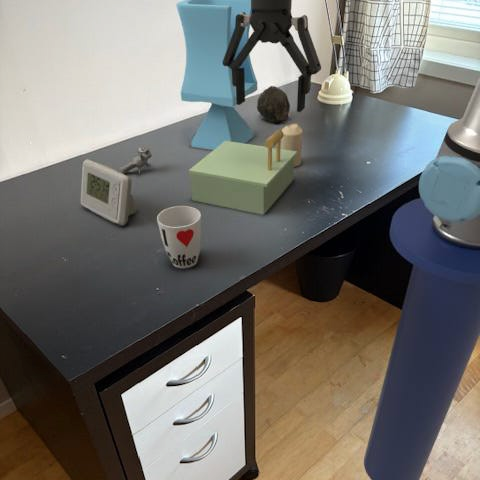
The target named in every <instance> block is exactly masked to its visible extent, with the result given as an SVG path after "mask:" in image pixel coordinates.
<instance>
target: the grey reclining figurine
mask: <svg viewBox="0 0 480 480" xmlns="http://www.w3.org/2000/svg"><path fill="white" fill-rule="evenodd" d="M137 153H138V155H136V156H134V157H133V158H132V161H131V162H129V163H126V164H125V165H123V166H120V167H119V168H120V170H121V173H122V174H124V175H126V174H127V173H128V172H130V171H131V170H134V169H135V168H137V170H138V175H140V174H141V171H142V168H143V167H145V166H149V163H148V161H149V159H151V158H152V152H151V151H150V150H149V149H148V148H146V147H142V148H141V147H139V148H138V150H137Z"/></svg>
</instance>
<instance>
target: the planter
mask: <svg viewBox="0 0 480 480" xmlns="http://www.w3.org/2000/svg"><path fill="white" fill-rule="evenodd" d="M176 9H177V13H178V16H179V19H180V23H181V27H182V31H183V36H184V43H185V68H184V75H183V80H182V85H181V88H180V89H181V90H180V97H181V98H180V99H181V101H182V102H189V103H209V104H210V103H211V105H210V107H209V108H208V111H207V113H206V115H205V116H204V118H203V120H202V122H201V123H200V125H199V127H198V129H197V131H196V132H195V135H194V136H193V138H192V139H191V141H190V147H191V148H197V149H202V150H209V151H213V150H215V149H216V148H217V147H218V146H220V145H221V144H222V143H223V142H224V141H230V142H237V143H244V144H247V143H248V142H249V141H250V140H251V139H253V137H254V131H253V130H252V128H251V127H250V126H249V125H248V124H247V122H246V121H245V120H244V118H243V117H242V116H241V114H240V113H239V112H238V111H237V110H236V109H235V106H237V101H236V87H235V86H233V84H232V70H231V68H229V67H228V66H224V65H223V59H224V57H225V54H226V51H227V48H228V46H229V43H230V40H231V37H232V35H233V32H234V29H235V20H236V15H238V14H240V13H242V12H245V13H246V15H251V12H252V10H251V0H182V1H179V2H177V3H176ZM250 29H251V25H250V23H248V26H247V27H245V31H244V33H243V36H242V39H241V41H240V44H239V46H238V49H237V52H236V54H235V57H234V60H235V59H236V57H237V56H238V54H239V53H240V51H241V50H242V49H243V47H244V46H245V44H246V43H247V41H248V39H249V37H250V36H249V35H250ZM240 68H244V76H245V98H246V97H247V96H249V95H252V94H254V93H255V92H256V91H258V80H257V77H256V75H255V71H254V68H253V64H252V60H251V56H250V54H249V55H248V56H247V58H246V59H245V61H244V62H243V63H242V66H241V67H240Z"/></svg>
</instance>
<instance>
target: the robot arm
mask: <svg viewBox="0 0 480 480" xmlns="http://www.w3.org/2000/svg"><path fill="white" fill-rule="evenodd" d="M292 1H293V0H251V10H252V12H251V15H246V13H245V12H242V13H240V14H238V15H236V20H235V29H234V32H233V35H232V37H231V40H230V43H229V46H228V48H227V51H226V54H225V57H224V59H223V65H224V66H228V67H229V68H231V70H232V84H233V86H235V87H236V101H237V105H238V106H240V105H242V104H243V103H245V102H246V97H245V76H244V68H240V67H241V66H242V63H243V62H244V61H245V59H246V58H247V56H248V55H250V54H251V52H252V51H253V49H254V48H255V47H256V45H257V44H258V42H259V41H260V43H262V44H263V43H264V44H266V43H270V44H278V43H280V45H281V46H282V47H283V48H284V49H285V50H286V52H287V53H288V55H289V57H290V59H291V60H292V62H293V63H294V64H295V66H296V67H297V70H299V72H300V75H299V76H298V77H297V78H298V79H297V101H296V112H297V113H301V112H302V111H303V110H305V109H306V95H308V94H309V93H310V91H311V85H312V83H311V82H312V75H316V74H318V73H319V72H320V71H321V70H322V64H321V62H320V59H319V56H318V54H317V50H316V48H315V44H314V42H313V39H312V36H311V32H310V31H309V18H308V16H307V15H306V14H303V15H301V16H298V17H293V15H292V4H293V3H292ZM248 23H250V28H252V30H253V31H252V33H251V35H250V36H249V39H248V41H247V43H246V44H245V46H244V47H243V49H242V50H241V51H240V53H239V54H238V56H237V57H236V59H235V60H234V57H235V54H236V52H237V49H238V46H239V44H240V41H241V39H242V36H243V33H244V31H245V27H247V26H248ZM292 27H294V30H295V31H296V32H297V35H298V38H299V41H300V44H301V47H302V49H303V53H304V54H303V53H302V51H301V49H300V48H299V46H298V45H297V43H296V42H295V39H294V36H293V35H292V33H291V32H290V30H291V28H292ZM304 55H305V56H304ZM237 105H236V106H237ZM418 193H419V198H421V199H422V200H423V202H424V203H425V206H426V208H427V209H428V210H429V211H430V212H431V213H432V214H434V218H433V222H432V229H433V231H434V232H435V234H436V235H437V236H438V237H440V238H441V239H442V240H444V241H446V242H448V243H450V244H452V245H455V246H458V247H461V248H465V249H471V250H480V76H479V77H478V80H477V82H476V85H475V87H474V90H473V92H472V95H471V97H470V99H469V102H468V104H467V105H466V109H465V111H464V114H463V116H462V117H461V118H459V119H457V120H455V121H454V122H452V123H450V125H449V126H448V128H447V130H446V132H445V135H444V137H443V140H442V142H441V144H440V147H439V149H438V152H437V155H436V157H435V158H434V159H433V160H431V161H429V163H428V164H427V165H426V166H425V168H424V169H423V170H422V173H421V175H420V176H419V181H418Z"/></svg>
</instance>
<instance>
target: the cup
mask: <svg viewBox="0 0 480 480" xmlns="http://www.w3.org/2000/svg"><path fill="white" fill-rule="evenodd" d="M156 221H157V225H158V229H159V234H160V238H161V241H162V243H163V246H164V250H165V252H166V254H167V257H168V259H169V260H170V262H171V264H172V265H173V266H174V267H175V268H178V269H190V268H192V267H194V266H196V265H197V263H198V260H199V256H200V252H201V244H202V215H201V211H200V210H199V209H197V208H195V207H193V206H189V205H188V206H187V205H176V206H171V207H168V208H165V209H163V210H161V211H160V212H159V213H158V214H157V217H156Z"/></svg>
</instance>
